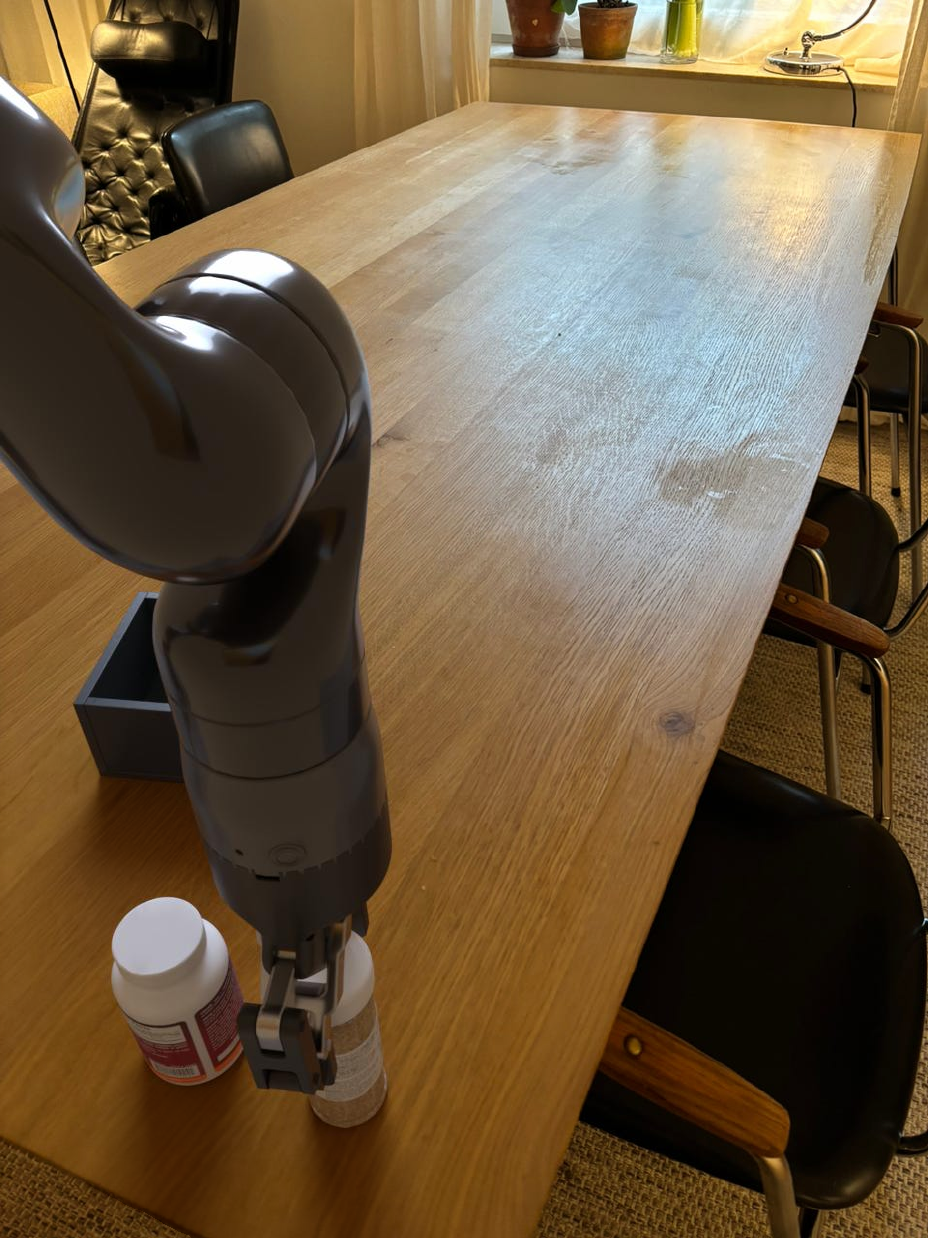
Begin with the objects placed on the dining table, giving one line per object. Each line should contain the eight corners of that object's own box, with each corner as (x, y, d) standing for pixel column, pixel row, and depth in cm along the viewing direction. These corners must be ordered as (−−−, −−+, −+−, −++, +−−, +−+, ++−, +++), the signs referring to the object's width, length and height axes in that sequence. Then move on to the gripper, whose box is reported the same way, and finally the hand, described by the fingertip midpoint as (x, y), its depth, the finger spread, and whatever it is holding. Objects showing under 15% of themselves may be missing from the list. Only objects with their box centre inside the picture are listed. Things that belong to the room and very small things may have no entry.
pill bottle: (228, 970, 62) (194, 864, 55) (267, 1052, 58) (237, 950, 51) (130, 1021, 59) (81, 918, 52) (164, 1111, 55) (117, 1012, 48)
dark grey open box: (99, 775, 74) (72, 704, 69) (158, 661, 83) (138, 590, 79) (263, 790, 73) (248, 718, 68) (304, 672, 82) (293, 601, 77)
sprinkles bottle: (306, 1057, 58) (275, 928, 49) (384, 1044, 58) (367, 914, 49) (310, 1139, 54) (277, 1016, 45) (393, 1124, 55) (376, 999, 46)
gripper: (248, 657, 45) (294, 873, 55) (131, 940, 34) (215, 1140, 45) (413, 668, 44) (427, 885, 55) (346, 962, 33) (380, 1160, 44)
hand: (332, 1000), depth 50 cm, fingers open, 7 cm apart
